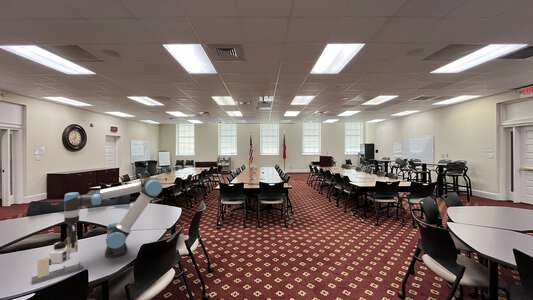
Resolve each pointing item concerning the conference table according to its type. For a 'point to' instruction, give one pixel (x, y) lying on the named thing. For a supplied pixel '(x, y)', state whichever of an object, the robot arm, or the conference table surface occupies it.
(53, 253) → the container
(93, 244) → the conference table surface
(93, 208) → the conference table surface
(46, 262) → the rail
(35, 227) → the conference table surface
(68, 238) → the tan box
